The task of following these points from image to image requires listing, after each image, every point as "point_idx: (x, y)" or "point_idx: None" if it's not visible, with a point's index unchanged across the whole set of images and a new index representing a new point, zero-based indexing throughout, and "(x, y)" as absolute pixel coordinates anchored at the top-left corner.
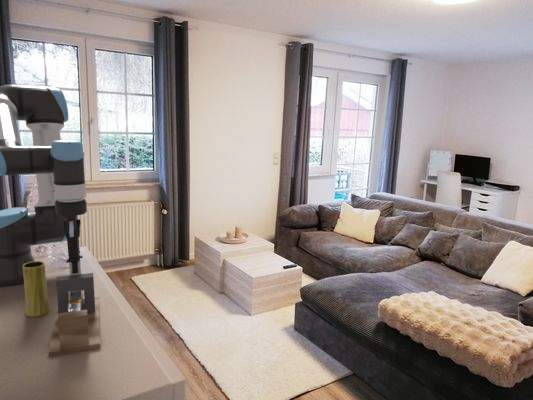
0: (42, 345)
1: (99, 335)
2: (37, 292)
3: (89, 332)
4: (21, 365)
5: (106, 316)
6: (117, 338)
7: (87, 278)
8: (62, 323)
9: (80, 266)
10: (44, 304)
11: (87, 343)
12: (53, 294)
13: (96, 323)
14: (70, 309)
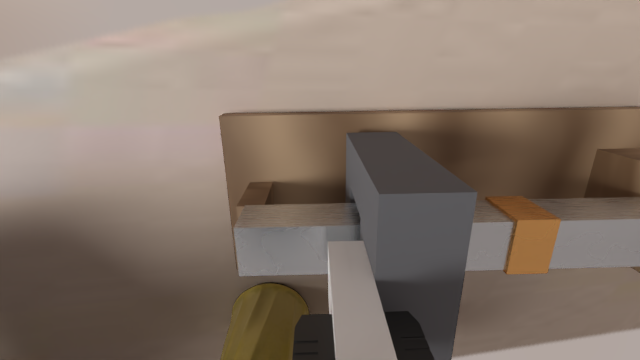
0: (512, 274)
1: (595, 111)
2: None
3: (548, 148)
4: (592, 307)
5: (395, 81)
6: (607, 40)
7: (466, 229)
8: None
9: (387, 331)
10: (292, 318)
11: None
12: (123, 284)
13: (488, 123)
14: (610, 259)
